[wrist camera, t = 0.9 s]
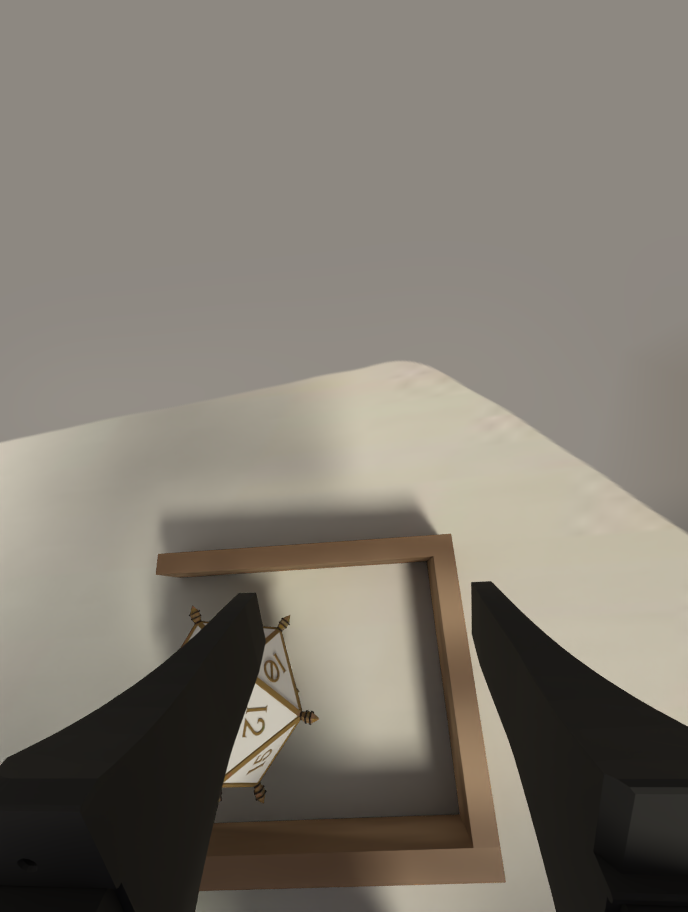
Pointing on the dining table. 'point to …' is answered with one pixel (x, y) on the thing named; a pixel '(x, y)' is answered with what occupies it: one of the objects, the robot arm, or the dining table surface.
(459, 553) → the dining table surface
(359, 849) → the wooden arch frame
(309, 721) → the game die
